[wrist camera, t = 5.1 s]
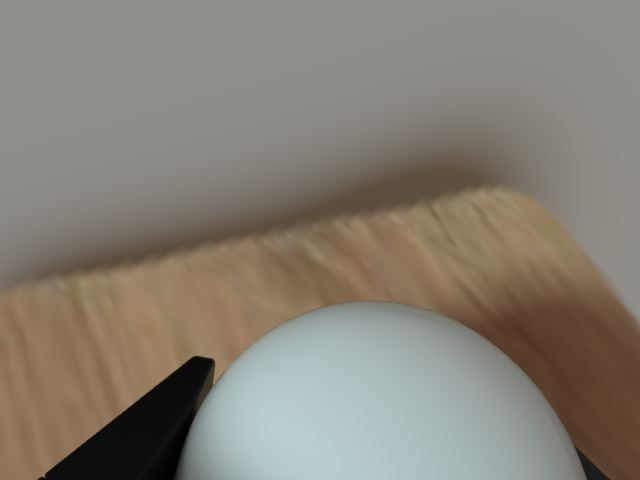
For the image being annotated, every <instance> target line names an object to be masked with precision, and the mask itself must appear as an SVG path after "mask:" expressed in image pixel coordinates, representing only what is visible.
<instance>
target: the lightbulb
mask: <svg viewBox="0 0 640 480" xmlns="http://www.w3.org/2000/svg"><path fill="white" fill-rule="evenodd" d="M173 480H587V478H586V474H585V472H584V469H583V466H582V464H581V461H580V459H579V456H578V454H577V451H576V449H575V447H574V445H573V442H572V440H571V438H570V437H569V435H568V433H567V431H566V429H565V427H564V425H563V423H562V422H561V420H560V418H559V417H558V415H557V413H556V412H555V410H554V409H553V407H552V406H551V404H550V403H549V401H548V400H547V399H546V397H545V396H544V394H543V393H542V392H541V390H540V389H539V388H538V387H537V385H536V384H535V383H534V382H533V381H532V380H531V378H530V377H529V376H528V375H527V374H526V373H525V372H524V371H523V370H522V369H521V368H520V367H519V366H518V365H517V364H516V363H515V362H514V361H513V360H512V359H511V358H510V357H509V356H508V355H506V354H505V353H504V352H503V351H502V350H501V349H499V348H498V347H497V346H496V345H494V344H493V343H491V342H490V341H489V340H487V339H486V338H485V337H483V336H482V335H480V334H479V333H477V332H475V331H474V330H472V329H471V328H469V327H467V326H465V325H463V324H462V323H460V322H457V321H455V320H453V319H451V318H449V317H447V316H444V315H442V314H439V313H437V312H434V311H431V310H428V309H425V308H421V307H418V306H414V305H409V304H404V303H398V302H391V301H377V300H363V301H350V302H343V303H337V304H332V305H328V306H324V307H320V308H317V309H314V310H311V311H308V312H305V313H303V314H300V315H298V316H296V317H293V318H291V319H289V320H287V321H285V322H283V323H282V324H280V325H278V326H276V327H275V328H273V329H271V330H270V331H268V332H267V333H265V334H264V335H262V336H261V337H260V338H258V339H257V340H256V341H254V342H253V343H252V344H251V345H250V346H248V347H247V348H246V349H245V350H244V351H243V352H242V353H241V354H240V355H239V356H238V357H237V358H236V359H235V360H234V361H233V362H232V363H231V364H230V365H229V366H228V367H227V369H226V370H225V371H224V372H223V373H222V375H221V376H220V377H219V378H218V380H217V381H216V382H215V384H214V385H213V387H212V388H211V390H210V391H209V393H208V394H207V396H206V397H205V399H204V401H203V402H202V404H201V406H200V408H199V409H198V411H197V413H196V415H195V417H194V419H193V421H192V423H191V426H190V428H189V430H188V432H187V435H186V438H185V440H184V443H183V446H182V449H181V452H180V455H179V458H178V462H177V465H176V470H175V474H174V478H173Z"/></svg>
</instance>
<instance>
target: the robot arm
mask: <svg viewBox="0 0 640 480" xmlns="http://www.w3.org/2000/svg"><path fill="white" fill-rule="evenodd" d="M214 370H215V361H214V360H213V359H211V358H206V357H201V356H194V357H192V358H191V359H189V360H188V361H187V362H186V363H184V364H183V365H182V366H181V367H179V368H178V369H177V370H175V371H174V372H173V373H172V374H170V375H169V376H168V377H167V378H165V379H164V380H163V381H162V382H160V383H159V384H158V385H157V386H155V387H154V388H153V389H151V390H150V391H149V392H148V393H146V394H145V395H144V396H143V397H141V398H140V399H139V400H138V401H136V402H135V403H134V404H133V405H131V406H130V407H129V408H127V409H126V410H125V411H124V412H122V413H121V414H120V415H119V416H117V417H116V418H115V419H114V420H112V421H111V422H110V423H109V424H107V425H106V426H105V427H103V428H102V429H101V430H100V431H98V432H97V433H96V434H95V435H93V436H92V437H91V438H90V439H88V440H87V441H86V442H85V443H83V444H82V445H81V446H79V447H78V448H77V449H76V450H74V451H73V452H72V453H71V454H69V455H68V456H67V457H66V458H64V459H63V460H62V461H61V462H59V463H58V464H57V465H56V466H54V467H53V468H52V469H50V470H49V471H48V472H47V473H46V474H45V478H44V477H40V478H39V479H37V480H173V478H174V474H175V470H176V465H177V462H178V458H179V455H180V452H181V449H182V446H183V443H184V440H185V438H186V435H187V432H188V430H189V428H190V426H191V423H192V421H193V419H194V417H195V415H196V413H197V411H198V409H199V408H200V406H201V404H202V402H203V401H204V399H205V397H206V396H207V394H208V393H209V391H210V390H211V388H212V386H213V378H214ZM574 447H575V446H574ZM575 449H576V451H577V454H578V456H579V459H580V461H581V464H582V466H583V469H584V472H585V474H586V478H587V480H610V479H609V478H608V477H607V476H606V475H605V474H604V473H603V472H602V471H601V470H600V469H599V468H597V467H596V466H595V465H594V464H593V463H592V462H591V461H590V460H589V459H588V458H587V457H586V456H585V455H584V454H583V453H582V452H581V451H580V450H578V449H577V448H576V447H575Z"/></svg>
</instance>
